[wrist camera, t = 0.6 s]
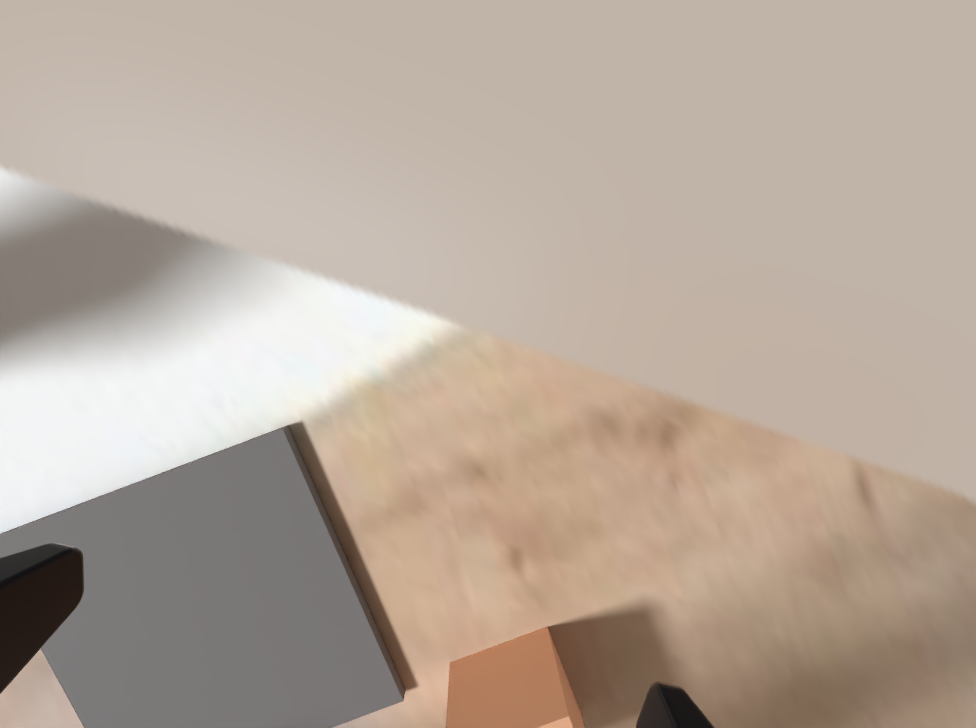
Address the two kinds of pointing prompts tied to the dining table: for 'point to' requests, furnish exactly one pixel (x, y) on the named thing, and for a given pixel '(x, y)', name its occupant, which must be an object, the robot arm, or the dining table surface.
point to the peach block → (512, 687)
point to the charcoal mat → (215, 601)
